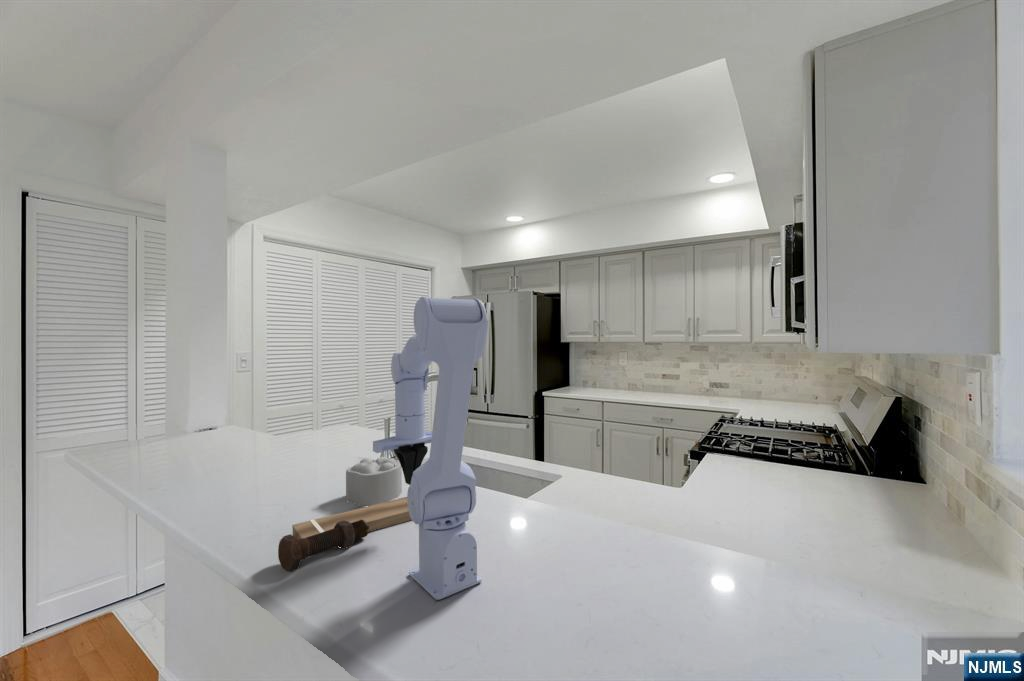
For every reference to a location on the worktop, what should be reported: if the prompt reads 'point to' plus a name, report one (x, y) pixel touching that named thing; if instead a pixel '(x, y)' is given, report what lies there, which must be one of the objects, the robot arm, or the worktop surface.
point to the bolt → (319, 543)
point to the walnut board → (358, 518)
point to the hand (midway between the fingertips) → (410, 483)
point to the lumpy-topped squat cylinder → (373, 481)
